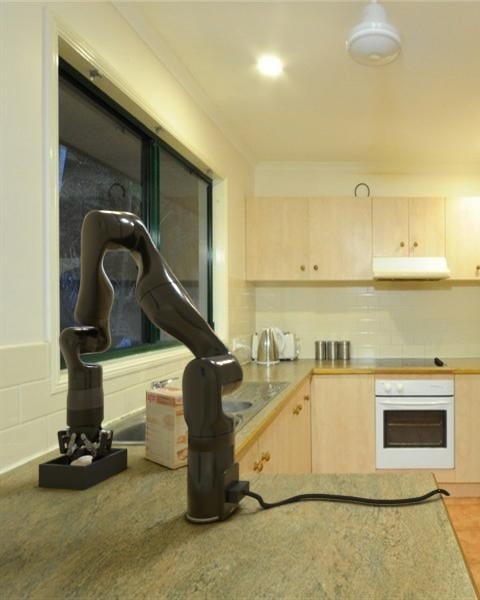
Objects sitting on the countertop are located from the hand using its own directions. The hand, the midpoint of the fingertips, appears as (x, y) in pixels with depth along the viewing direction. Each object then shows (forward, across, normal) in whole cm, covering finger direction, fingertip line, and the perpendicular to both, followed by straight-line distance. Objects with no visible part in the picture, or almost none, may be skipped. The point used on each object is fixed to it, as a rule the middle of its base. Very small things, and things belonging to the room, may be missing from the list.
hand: (85, 470), depth 102 cm
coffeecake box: (+2, +14, +13) cm, 19 cm away
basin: (+2, 0, 0) cm, 2 cm away
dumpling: (+1, 0, 0) cm, 1 cm away
